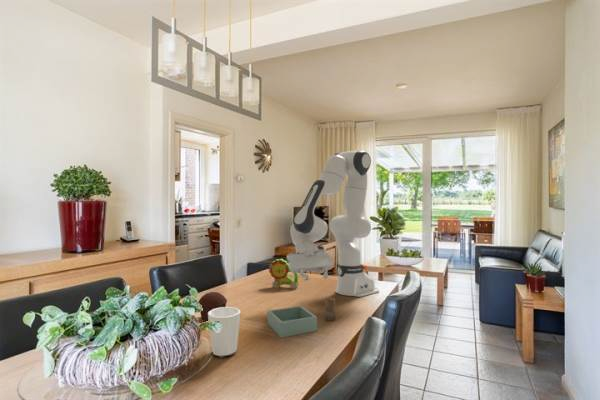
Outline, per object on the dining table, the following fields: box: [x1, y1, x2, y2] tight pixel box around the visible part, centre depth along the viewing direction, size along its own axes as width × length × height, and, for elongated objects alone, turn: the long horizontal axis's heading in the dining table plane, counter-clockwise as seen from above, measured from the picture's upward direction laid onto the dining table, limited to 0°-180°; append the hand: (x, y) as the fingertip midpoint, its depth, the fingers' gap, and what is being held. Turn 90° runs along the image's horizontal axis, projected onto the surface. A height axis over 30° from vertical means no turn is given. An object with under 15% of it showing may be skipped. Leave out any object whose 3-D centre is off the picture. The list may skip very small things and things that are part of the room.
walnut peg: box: [324, 297, 336, 322], centre depth 131 cm, size 4×4×8 cm
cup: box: [208, 306, 241, 359], centre depth 102 cm, size 10×10×13 cm
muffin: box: [198, 291, 228, 322], centre depth 132 cm, size 12×11×10 cm
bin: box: [267, 305, 318, 338], centre depth 123 cm, size 14×14×5 cm
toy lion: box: [268, 258, 299, 290], centre depth 178 cm, size 16×6×15 cm, turn 77°
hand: (316, 278), depth 141 cm, fingers open, 8 cm apart
